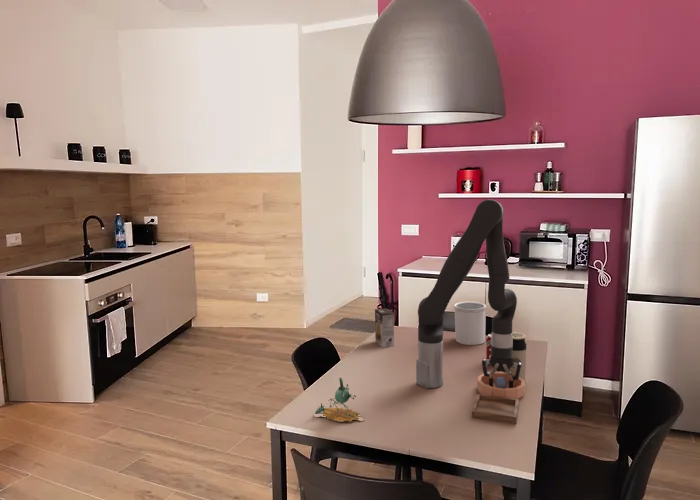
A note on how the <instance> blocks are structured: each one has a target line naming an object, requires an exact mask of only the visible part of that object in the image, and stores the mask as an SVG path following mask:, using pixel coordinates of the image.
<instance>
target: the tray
mask: <svg viewBox="0 0 700 500" xmlns="http://www.w3.org/2000/svg"><path fill="white" fill-rule="evenodd" d="M519 409H520V399H513V398H505V397H497V396H489V395H481V394H480V393H477V394H476V397H475V399H474V402H473V405H472V408H471V419H472V418H473V419H479V420H485V421H492V422H500V423H505V422H507V423H506V424H512V423H513V424H514V425H516V424H517V421H518V413H519Z"/></svg>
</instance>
